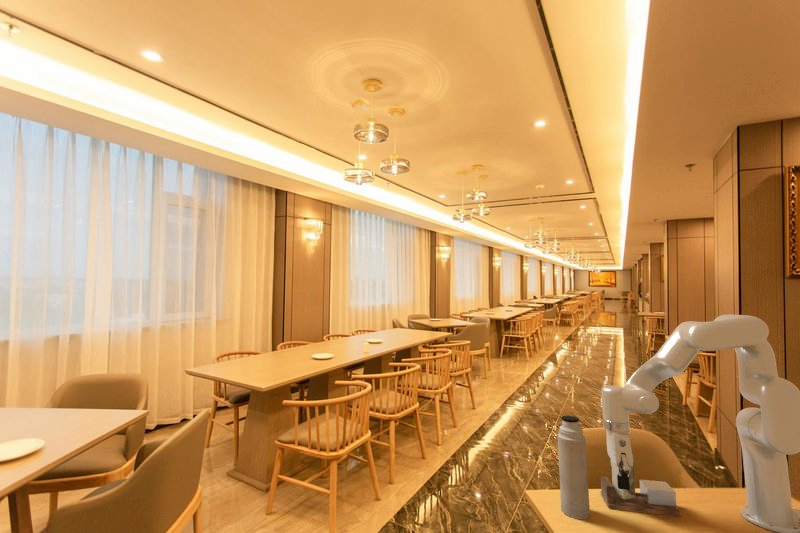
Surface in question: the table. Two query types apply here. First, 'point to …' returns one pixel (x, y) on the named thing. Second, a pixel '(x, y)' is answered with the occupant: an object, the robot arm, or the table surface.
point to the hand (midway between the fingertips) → (620, 483)
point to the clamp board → (632, 502)
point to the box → (629, 493)
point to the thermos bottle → (573, 469)
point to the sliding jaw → (657, 493)
